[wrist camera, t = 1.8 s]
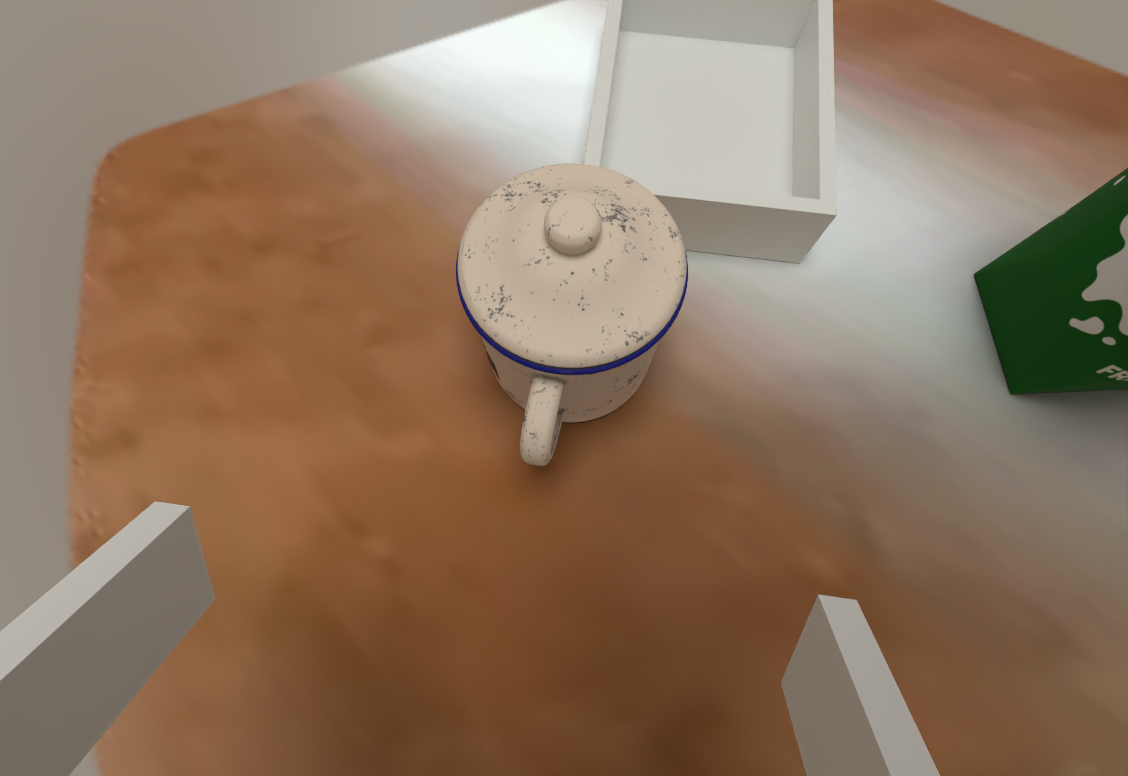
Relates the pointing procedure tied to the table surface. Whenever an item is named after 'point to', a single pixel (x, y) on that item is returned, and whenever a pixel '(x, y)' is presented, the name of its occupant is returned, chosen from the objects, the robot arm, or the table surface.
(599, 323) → the teacup with lid
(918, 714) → the table surface
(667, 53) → the white rectangular tray
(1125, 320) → the milk carton
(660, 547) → the table surface
